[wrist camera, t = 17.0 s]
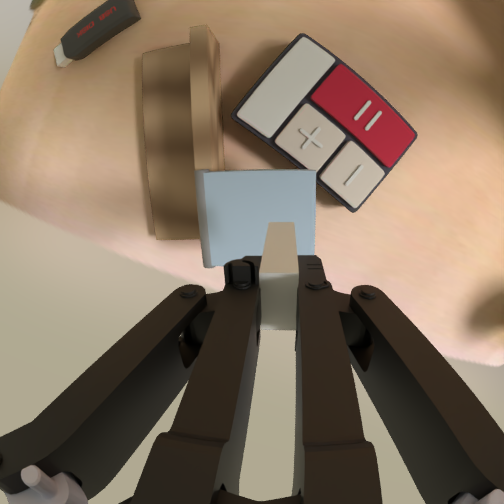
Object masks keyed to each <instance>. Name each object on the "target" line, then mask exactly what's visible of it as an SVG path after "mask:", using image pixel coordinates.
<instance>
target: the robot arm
mask: <svg viewBox="0 0 504 504" xmlns="http://www.w3.org/2000/svg"><path fill="white" fill-rule="evenodd" d="M224 275H225V287H224V289H223V291H220V292H217V293H211V294H206V292H205V289H204V288H203V287H202V286H199V285H193V284H189V285H184V286H182V287H179V288H178V289H176V290H174V291H173V292H172V293H171V294H170V295H169V296H168V297H167V298H165V299H164V300H163V301H162V302H161V303H160V304H159V305H157V306H156V307H155V308H154V309H153V310H152V311H151V312H150V313H148V315H146V316H145V317H144V318H143V319H142V320H141V321H140V322H139V323H137V324H136V325H135V326H134V327H133V328H132V329H131V330H130V331H128V332H127V333H126V334H125V335H124V336H123V337H122V338H121V339H120V340H118V341H117V342H116V343H115V344H114V345H113V346H112V347H111V348H110V349H109V350H108V351H106V352H105V353H104V354H103V355H102V356H101V357H100V358H99V359H98V360H97V361H95V363H93V364H92V365H91V366H90V367H89V368H88V369H87V370H86V371H85V372H84V373H83V374H81V375H80V376H79V377H78V378H77V379H76V380H75V381H74V382H73V383H72V384H71V385H70V386H69V387H68V388H67V389H65V390H64V392H62V393H61V394H60V395H59V396H58V397H57V398H56V399H55V400H54V401H53V402H52V403H51V404H50V405H49V406H48V407H47V408H46V409H45V410H43V411H42V412H41V413H40V414H39V415H38V416H37V417H36V418H35V419H34V420H33V421H32V422H30V423H28V424H26V425H24V426H22V427H20V428H18V429H16V430H14V431H12V432H10V433H8V434H6V435H4V436H2V437H0V489H1V490H2V491H3V492H4V493H5V495H6V497H7V499H8V502H9V504H88V500H89V499H91V498H93V497H94V496H96V495H97V494H98V493H99V492H100V491H102V490H103V489H104V488H105V487H106V486H107V485H108V484H109V483H110V482H111V480H113V478H114V477H115V476H116V475H117V473H118V472H119V471H120V470H121V468H122V467H123V466H124V465H125V463H126V462H127V461H128V459H129V458H130V457H131V455H132V454H133V453H134V452H135V450H136V449H137V448H138V446H139V445H140V444H141V443H142V441H143V440H144V439H145V437H146V436H147V435H148V434H149V432H150V431H151V430H152V428H153V427H154V426H155V424H156V423H157V422H158V420H159V419H160V418H161V416H162V415H163V414H164V412H165V411H166V410H167V408H168V407H169V406H170V404H171V403H172V402H173V400H174V399H175V398H176V396H177V395H178V394H179V392H180V391H181V390H182V388H183V387H184V386H185V384H186V383H187V381H188V380H189V381H188V384H187V386H186V389H185V392H184V395H183V397H182V400H181V403H180V405H179V408H178V411H177V413H176V416H175V419H174V421H173V424H172V427H171V429H170V430H169V431H168V432H163V433H160V434H159V435H158V436H157V438H156V440H155V442H154V443H153V446H152V448H151V451H150V453H149V456H148V459H147V461H146V464H145V466H144V469H143V472H142V474H141V477H140V479H139V482H138V484H137V487H136V490H135V493H134V495H133V496H132V497H130V498H128V499H126V500H125V501H123V502H121V503H119V504H382V495H381V486H380V478H379V472H378V464H377V457H376V453H375V449H374V446H373V444H372V443H371V442H368V441H366V440H365V438H364V433H363V428H362V421H361V415H360V409H359V404H358V398H357V393H356V388H355V383H354V378H353V373H352V368H351V365H352V366H353V368H354V370H355V372H356V373H357V375H358V377H359V379H360V381H361V382H362V384H363V386H364V388H365V389H366V391H367V393H368V395H369V397H370V399H371V400H372V402H373V404H374V406H375V408H376V409H377V412H378V413H379V415H380V417H381V419H382V420H383V423H384V425H385V426H386V428H387V430H388V432H389V434H390V436H391V438H392V439H393V441H394V443H395V445H396V447H397V449H398V451H399V453H400V455H401V457H402V459H403V461H404V463H405V465H406V466H407V469H408V471H409V473H410V474H411V476H412V478H413V480H414V483H415V485H416V487H417V489H418V490H419V493H420V494H421V496H422V498H423V499H424V501H425V503H426V504H504V433H503V431H502V430H501V429H500V427H499V426H498V425H497V423H496V422H495V420H494V419H493V418H492V417H491V415H490V414H489V412H488V411H487V410H486V409H485V407H484V406H483V405H482V404H481V402H480V401H479V400H478V398H477V397H476V396H475V394H474V393H473V392H472V391H471V390H470V388H469V387H468V386H467V385H466V383H465V382H464V381H463V380H462V378H461V377H460V376H459V375H458V374H457V373H456V371H455V370H454V369H453V368H452V367H451V365H450V364H449V363H448V362H447V361H446V360H445V358H444V357H443V356H442V355H441V354H440V353H439V352H438V350H437V349H436V348H435V347H434V346H433V345H432V344H431V343H430V341H429V340H428V339H427V338H426V337H425V336H424V335H423V334H422V333H421V332H420V330H419V329H418V328H417V327H416V326H415V325H414V324H413V323H412V322H411V321H410V320H409V319H408V317H407V316H406V315H405V314H404V313H403V312H402V311H401V310H400V309H399V308H398V307H397V306H396V305H395V304H394V303H393V302H392V301H391V300H390V299H389V298H388V297H387V296H386V295H385V294H384V293H383V292H382V291H381V290H380V289H378V288H376V287H373V286H371V285H360V286H357V287H354V288H353V289H352V291H351V295H350V294H344V293H340V292H337V291H334V290H333V288H332V285H331V283H330V282H329V281H327V280H326V277H325V273H324V269H323V265H322V261H321V259H320V258H319V257H317V256H316V255H297V246H296V235H295V225H294V222H269V224H268V229H267V234H266V239H265V244H264V250H263V255H262V256H244V257H243V258H242V259H235V260H231V261H229V262H227V263H226V264H225V265H224ZM260 325H261V330H296V341H295V351H296V422H295V423H296V424H295V455H294V478H293V489H292V496H290V497H285V498H280V499H274V500H268V501H255V500H251V499H248V498H245V497H242V496H239V479H240V472H241V465H242V460H243V453H244V447H245V441H246V434H247V427H248V421H249V415H250V408H251V401H252V394H253V387H254V380H255V373H256V366H257V359H258V352H259V344H260ZM180 335H181V336H180Z"/></svg>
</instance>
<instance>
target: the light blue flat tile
mask: <svg viewBox="0 0 504 504" xmlns="http://www.w3.org/2000/svg"><path fill="white" fill-rule="evenodd" d="M194 176H195V188H196V200H197V211H198V221H199V231H200V240H201V249H202V258H203V266H204V267H205V268H213V267H216V266H224V265H225V264H226V263H227V262H229V261H231V260H235V259H242V258H243V257H244V256H262V255H263V250H264V244H265V239H266V234H267V229H268V224H269V222H294V225H295V235H296V246H297V255H314V248H315V217H316V170H309V169H259V170H227V171H209V169H200V170H194Z"/></svg>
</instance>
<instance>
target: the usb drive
mask: <svg viewBox="0 0 504 504" xmlns="http://www.w3.org/2000/svg"><path fill="white" fill-rule="evenodd" d="M140 19H141V18H140V15H139V12H138V10H137V7H136V5H135V2H134V0H108V1H106V2H105V3H103V4H102V5H101V6H99V7H98V8H96V9H95V10H94V11H92V12H91V13H90V14H88V15H87V16H86V17H84V18H83V19H82V20H80V21H79V22H78V23H77V24H75V25H74V26H73V27H72V28H71V29H69V30H68V32H67V33H66V34H65V35H64V36H63V37H62V38H61V43H60V44H59V45H58V46H57V47H56V48H55V49H54V54H55V59H56V63H57V66H59V67H64V68H65V67H66V66H67V65H68V64H70V63H71V62H72V61H73V60H79V59H83V58H85V57H86V56H87V55H89V54H90V53H91V52H92V51H94V50H95V49H96V48H98V47H99V46H101V45H102V44H103V43H105V42H106V41H108V40H109V39H111V38H112V37H114V36H115V35H117V34H118V33H120V32H121V31H123V30H124V29H126V28H127V27H129V26H131V25H132V24H134V23H136V22H137V21H139V20H140Z"/></svg>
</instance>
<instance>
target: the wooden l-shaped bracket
mask: <svg viewBox="0 0 504 504" xmlns="http://www.w3.org/2000/svg"><path fill="white" fill-rule="evenodd" d="M142 87H143V118H144V135H145V149H146V161H147V172H148V182H149V190H150V199H151V207H152V214H153V221H154V228H155V235H156V240H184V239H200V231H199V221H198V211H197V200H196V188H195V176H194V170H200V169H209V171H225V163H224V145H223V125H222V104H221V80H220V51H219V42H218V41H217V39H216V38H215V36H214V35H213V33H212V32H211V30H210V29H209V27H208V26H207V25H201V26H195V27H190V43H187V44H182V45H177V46H172V47H167V48H163V49H159V50H154V51H150V52H146V53H143V57H142Z"/></svg>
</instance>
